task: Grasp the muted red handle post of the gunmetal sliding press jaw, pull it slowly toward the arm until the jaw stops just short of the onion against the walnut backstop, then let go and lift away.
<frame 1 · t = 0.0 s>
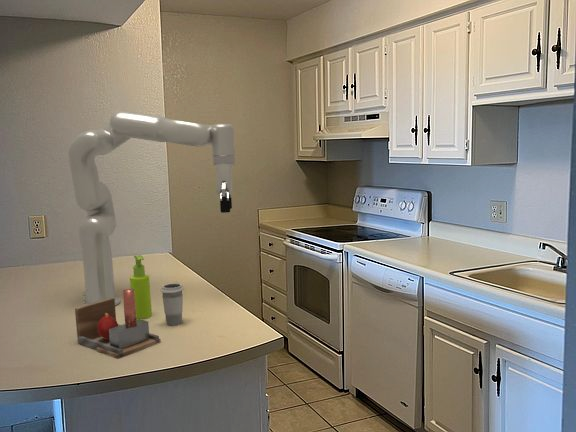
hand: (226, 210, 193), 31 cm above the worktop, tool pointing down, fingers open, 9 cm apart
cup: (174, 324, 173), on the worktop
press jaw: (127, 316, 153), point 9 cm above the worktop, slide at 0.0 cm
onion: (108, 340, 160), resting in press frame
soap dispenser: (142, 317, 180), on the worktop
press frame: (129, 346, 154), on the worktop
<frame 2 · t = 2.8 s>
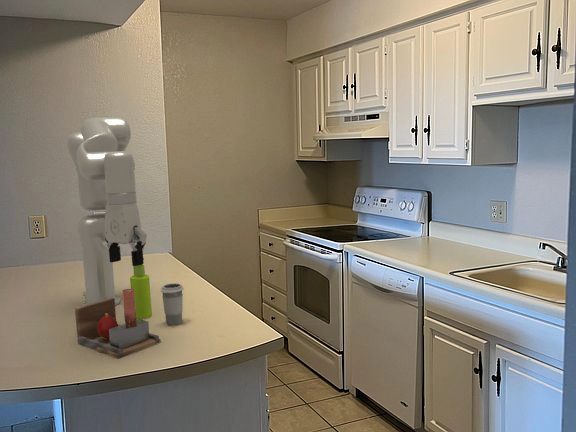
hand: (126, 263, 150), 24 cm above the worktop, tool pointing down, fingers open, 9 cm apart
nothing on the worktop moved.
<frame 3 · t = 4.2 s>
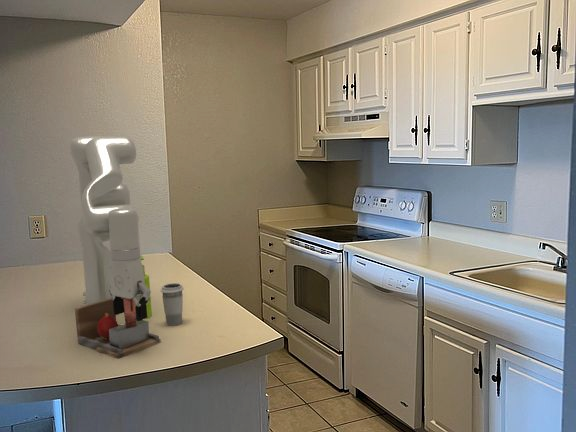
hand: (130, 316, 152), 9 cm above the worktop, tool pointing down, fingers open, 9 cm apart
nothing on the worktop moved.
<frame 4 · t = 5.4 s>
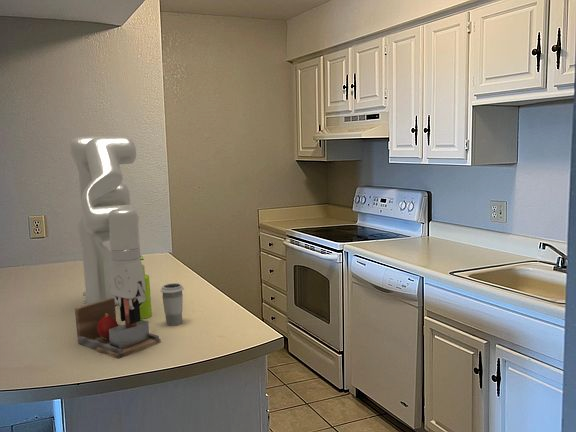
hand: (130, 320, 152), 8 cm above the worktop, tool pointing down, fingers closed on press jaw, 3 cm apart
press jaw: (127, 316, 153), point 9 cm above the worktop, slide at 0.0 cm, touching gripper
everything else where it was.
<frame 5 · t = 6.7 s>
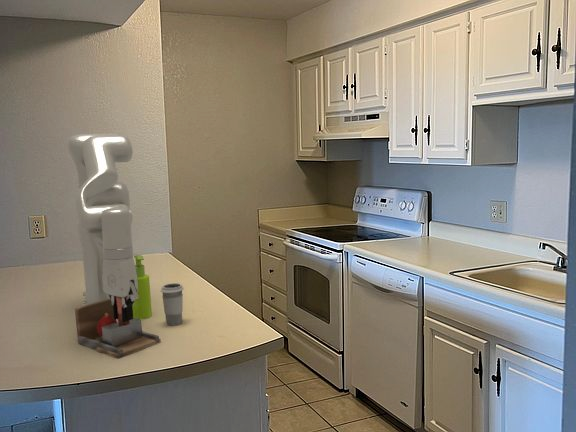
hand: (123, 318, 154), 8 cm above the worktop, tool pointing down, fingers closed on press jaw, 3 cm apart
press jaw: (120, 314, 155), point 9 cm above the worktop, slide at 3.1 cm, touching gripper
everything else where it was.
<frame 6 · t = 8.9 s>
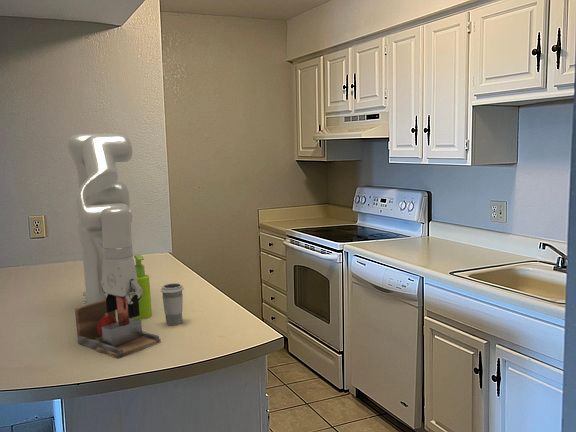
hand: (123, 313, 154), 9 cm above the worktop, tool pointing down, fingers open, 9 cm apart
press jaw: (120, 314, 155), point 9 cm above the worktop, slide at 3.2 cm
everything else where it was.
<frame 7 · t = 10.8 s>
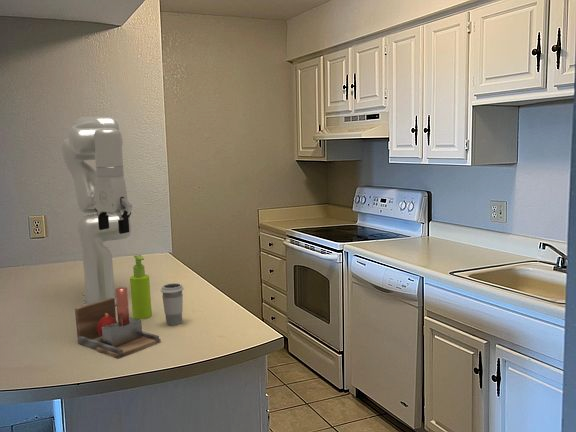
hand: (114, 231, 164), 30 cm above the worktop, tool pointing down, fingers open, 9 cm apart
nothing on the worktop moved.
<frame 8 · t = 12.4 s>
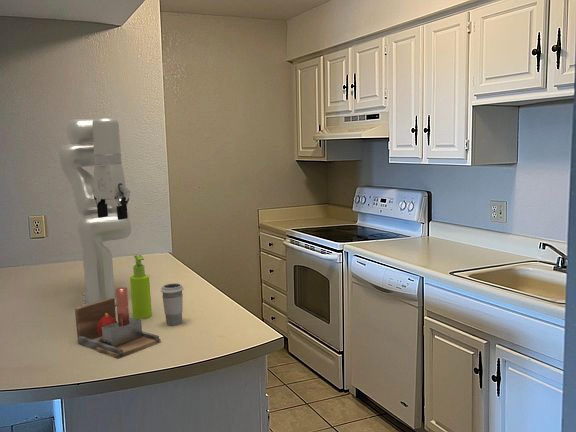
hand: (112, 218, 168), 33 cm above the worktop, tool pointing down, fingers open, 9 cm apart
nothing on the worktop moved.
at the end: press jaw slide at 3.2 cm; onion moved 0.2 cm from its start; the gripper is holding nothing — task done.
